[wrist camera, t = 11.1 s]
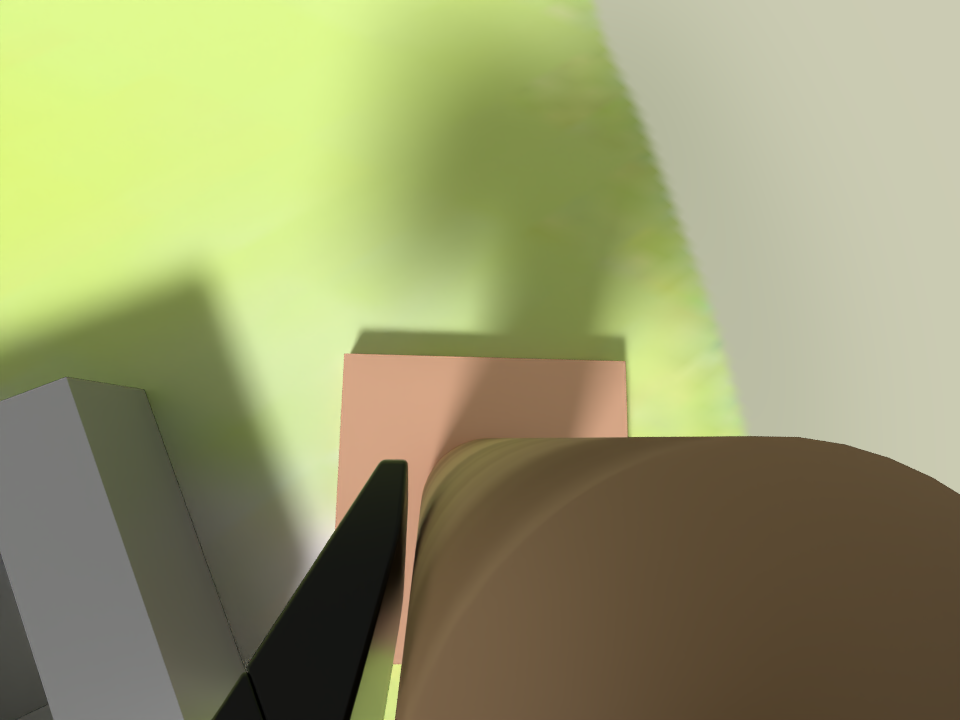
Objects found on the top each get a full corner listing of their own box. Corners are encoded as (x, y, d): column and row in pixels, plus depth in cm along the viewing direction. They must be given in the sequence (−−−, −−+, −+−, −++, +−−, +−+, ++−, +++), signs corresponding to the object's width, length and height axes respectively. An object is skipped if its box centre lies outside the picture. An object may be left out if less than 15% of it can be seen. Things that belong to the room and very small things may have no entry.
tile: (624, 646, 16) (633, 657, 15) (333, 654, 15) (328, 665, 15) (616, 364, 18) (625, 361, 17) (348, 357, 17) (344, 353, 16)
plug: (577, 538, 15) (1328, 1040, 3) (455, 602, 15) (637, 1690, 2) (519, 416, 16) (917, 319, 3) (398, 474, 15) (233, 670, 2)
